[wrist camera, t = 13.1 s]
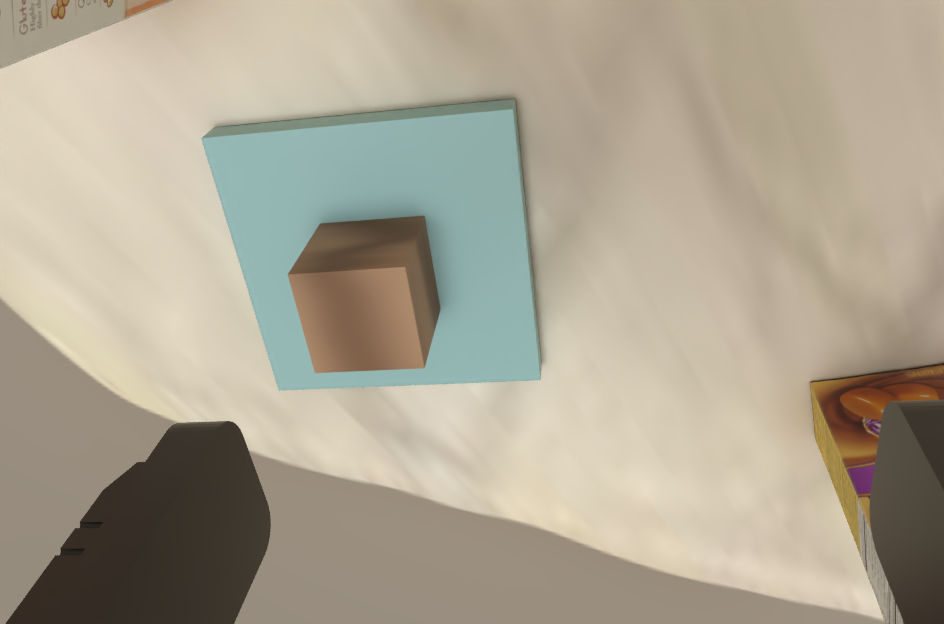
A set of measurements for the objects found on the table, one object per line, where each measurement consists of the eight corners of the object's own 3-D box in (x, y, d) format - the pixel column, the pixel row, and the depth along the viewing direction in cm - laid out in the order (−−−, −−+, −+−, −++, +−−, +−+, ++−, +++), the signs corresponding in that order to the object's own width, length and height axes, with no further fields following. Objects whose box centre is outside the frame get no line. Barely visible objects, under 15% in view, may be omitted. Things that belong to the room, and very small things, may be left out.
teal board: (514, 98, 35) (512, 109, 34) (541, 363, 42) (540, 379, 41) (214, 127, 37) (201, 138, 36) (287, 374, 44) (278, 390, 43)
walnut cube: (424, 215, 37) (405, 266, 32) (440, 309, 39) (424, 368, 35) (319, 223, 37) (287, 274, 33) (342, 314, 40) (314, 373, 36)
